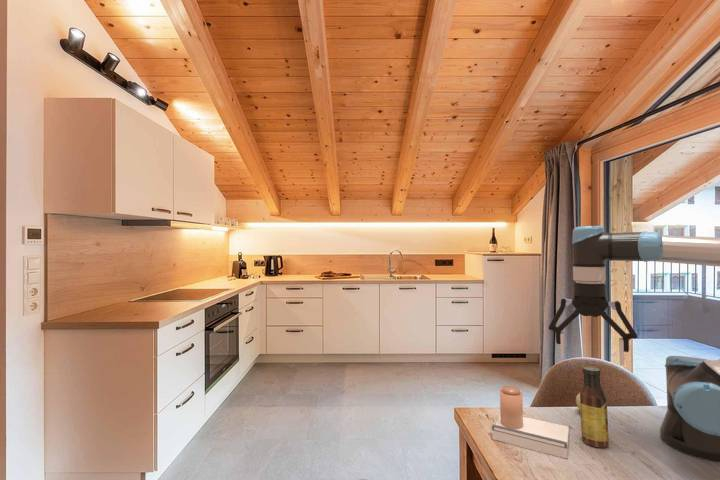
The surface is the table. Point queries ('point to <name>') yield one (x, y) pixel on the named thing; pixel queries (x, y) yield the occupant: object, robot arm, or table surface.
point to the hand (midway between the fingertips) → (591, 359)
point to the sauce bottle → (593, 410)
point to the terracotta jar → (511, 407)
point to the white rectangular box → (535, 436)
